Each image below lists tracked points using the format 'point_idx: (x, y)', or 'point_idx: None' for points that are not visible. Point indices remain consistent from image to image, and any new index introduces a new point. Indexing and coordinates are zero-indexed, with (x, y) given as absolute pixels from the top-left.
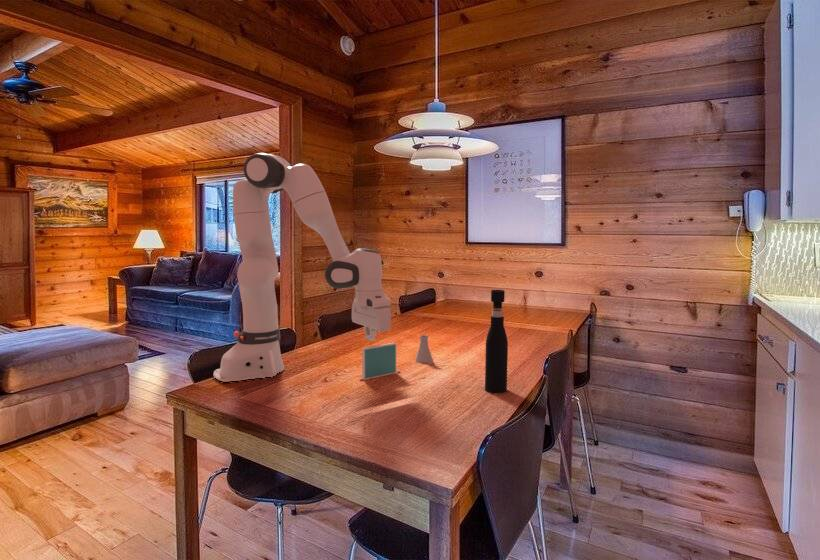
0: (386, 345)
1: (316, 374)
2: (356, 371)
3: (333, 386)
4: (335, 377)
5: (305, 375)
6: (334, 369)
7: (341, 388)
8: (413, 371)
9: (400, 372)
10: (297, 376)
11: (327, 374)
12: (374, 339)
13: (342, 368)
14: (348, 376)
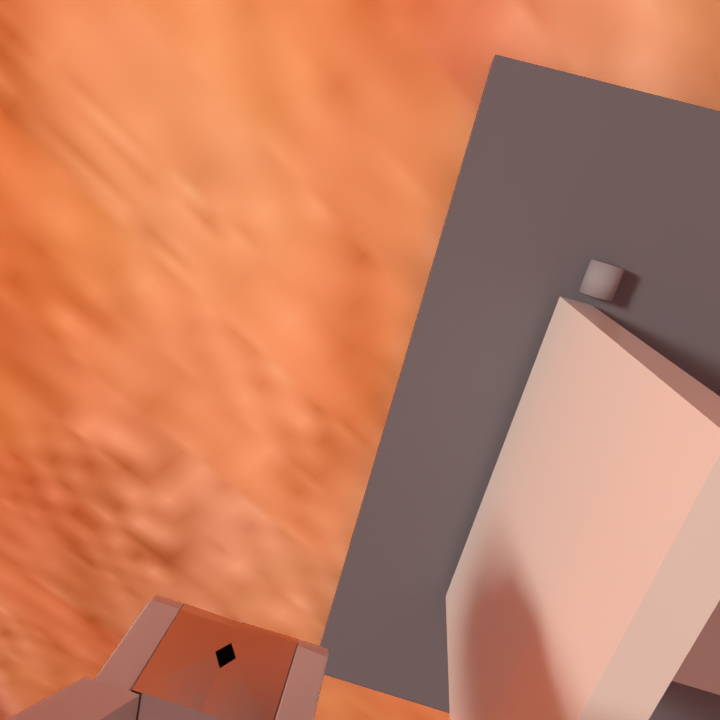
0: (674, 648)
1: (61, 620)
2: (193, 413)
3: (343, 712)
4: (202, 595)
5: (36, 667)
6: (37, 481)
7: (413, 713)
8: (631, 26)
9: (623, 270)
10: (25, 701)
11: (108, 583)
12: (323, 666)
13: (53, 427)
14: (250, 532)
